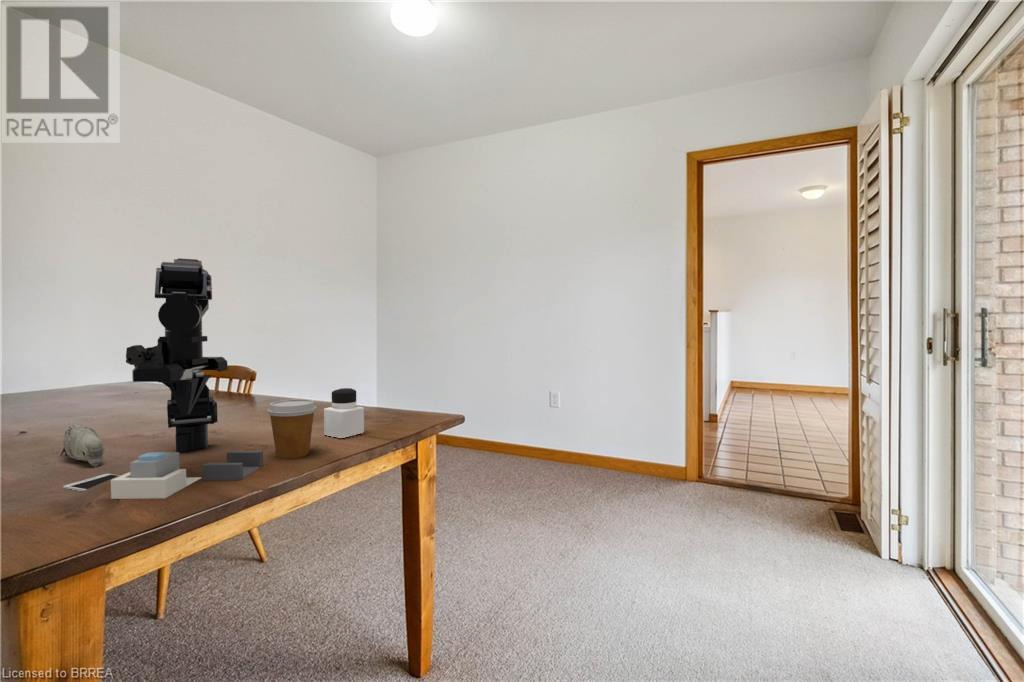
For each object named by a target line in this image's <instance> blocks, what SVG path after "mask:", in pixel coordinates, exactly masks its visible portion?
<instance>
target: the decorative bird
mask: <svg viewBox="0 0 1024 682" xmlns="http://www.w3.org/2000/svg"><path fill="white" fill-rule="evenodd" d="M65 428H67V429H66V430H65V433H64V436H63V448H62V451H61V453H60V455H59V457H61V456H62V455H63V454H64V455H65V457H67V455H68V457H70V458H71V459H74V460H77V461H83V462H87V463H89V464H90V465H91V466H92V467H94V468H97V467H99V466H100V464H101V462H102V460H103V455H104V453H105V447H104V443H103V441H102V439H101V438H100V436H99V434H98V433H97V432H96V430H95V429H92V428H90V427H86V426H84V424H83V423H81V422H79V421H75V420H70V421H69V422H67V423H65Z"/></svg>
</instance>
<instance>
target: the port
mask: <svg viewBox="0 0 1024 682" xmlns="http://www.w3.org/2000/svg"><path fill="white" fill-rule="evenodd" d="M201 479H203V476H202V477H197V476H196V477H187V468H179V469H178V470H176V471H174V472H172V473H170V474H168V475H166V476H164V477H149V478H130V471H128V472H126V473H124V474H122V475H120V476H117V477H115V478H112V479H110V497H111V498H110V499H112V500H118V499H119V500H122V499H126V500H127V499H129V500H130V499H137V500H139V499H144V500H145V499H166V498H168V497H170V496H172V495H174V494H176V493H177V492H179V491H181V490H183V489H185V488H186V487H188V486H190V485H191V484H193V483H196V482H197V481H199V480H201Z"/></svg>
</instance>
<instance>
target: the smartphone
mask: <svg viewBox="0 0 1024 682" xmlns="http://www.w3.org/2000/svg"><path fill="white" fill-rule="evenodd" d="M119 476H121V475H120V474H119V475H118V474H112V473H103V474H100V475H96V476H94V477H93V476H92V477H89V478H86V479H83V480H79V481H75V482H72V483H68V484H64V485H63V486H62V487H63V488H62V489H64V488H67V489H66V490H68V489H72V490H71V491H74V490H77V491H76V492H80V491H82V492H84V491H86V490H88V489H91V488H93V487H96V486H98V485H101V484H103V483H105V482H107V481H111V480H112V479H115V478H117V477H119Z"/></svg>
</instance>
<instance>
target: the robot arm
mask: <svg viewBox="0 0 1024 682" xmlns="http://www.w3.org/2000/svg"><path fill="white" fill-rule="evenodd" d="M202 263H203V262H202V260H199V259H194V258H192V259H191V258H177V259H173V262H171V261H170V262H169V261H168V262H167V261H162V262H161V264H160V267H157V268H156V271H155V272H156V273H155V282H154V284H155V286H154V298H155V299H165V302H164V303H162V305H161V306H160V307H159V310H158V313H157V317H158V321H159V323H160V325H162V327H164V336H159V337H158V339H157V345H155V346H151V347H146V348H145V347H144V346H143V345H141V344H136V345H132V346H129V347H126V352H125V358H126V359H125V363H126V364H129V365H131V366H134V368H133V369H132V371H131V372H132V377H131V378H132V382H133V383H160V384H161V383H162V384H163V385H164V386H166V387H167V388H168V389H169V391H170V399H167V404H166V412H167V428H168V429H172V428H175V436H174V437H175V439H174V440H175V449H174V450H172V451H171V452H179V454H189V453H193V452H196V451H201V450H205V449H207V448H208V446H209V430H208V429H209V428H208V427H209V426H208V425H214V424H215V423H218V403H217V402H216V401H215V399H214V396H211V393H210V388H209V386H207V383H208V381H209V380H210V379H211V378H212V374H205V371H216V372H224V371H228V360H226V359H225V357H223V356H203V355H204V354H203V352H204V351H203V350H204V349H203V342H204V343H205V342H208V336H207V335H203V316H204V315H205V314H206V312H208V310H209V307H210V305H209V304H210V301H211V300H213V287H212V285H213V284H212V275H211V274H210V273H209V271H208V270H207V269H206V270H205V269H204V267H203V264H202ZM209 300H210V301H209Z"/></svg>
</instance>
